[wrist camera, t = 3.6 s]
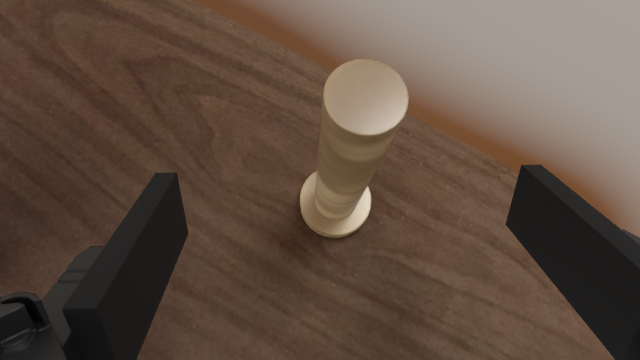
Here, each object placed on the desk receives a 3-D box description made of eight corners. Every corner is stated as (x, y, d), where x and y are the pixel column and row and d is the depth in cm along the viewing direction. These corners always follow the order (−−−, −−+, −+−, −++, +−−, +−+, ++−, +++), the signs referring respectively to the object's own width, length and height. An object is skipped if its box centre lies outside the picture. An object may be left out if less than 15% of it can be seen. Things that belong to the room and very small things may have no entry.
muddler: (366, 170, 26) (430, 33, 13) (370, 237, 25) (447, 163, 11) (299, 171, 26) (291, 33, 12) (300, 238, 25) (293, 166, 11)
